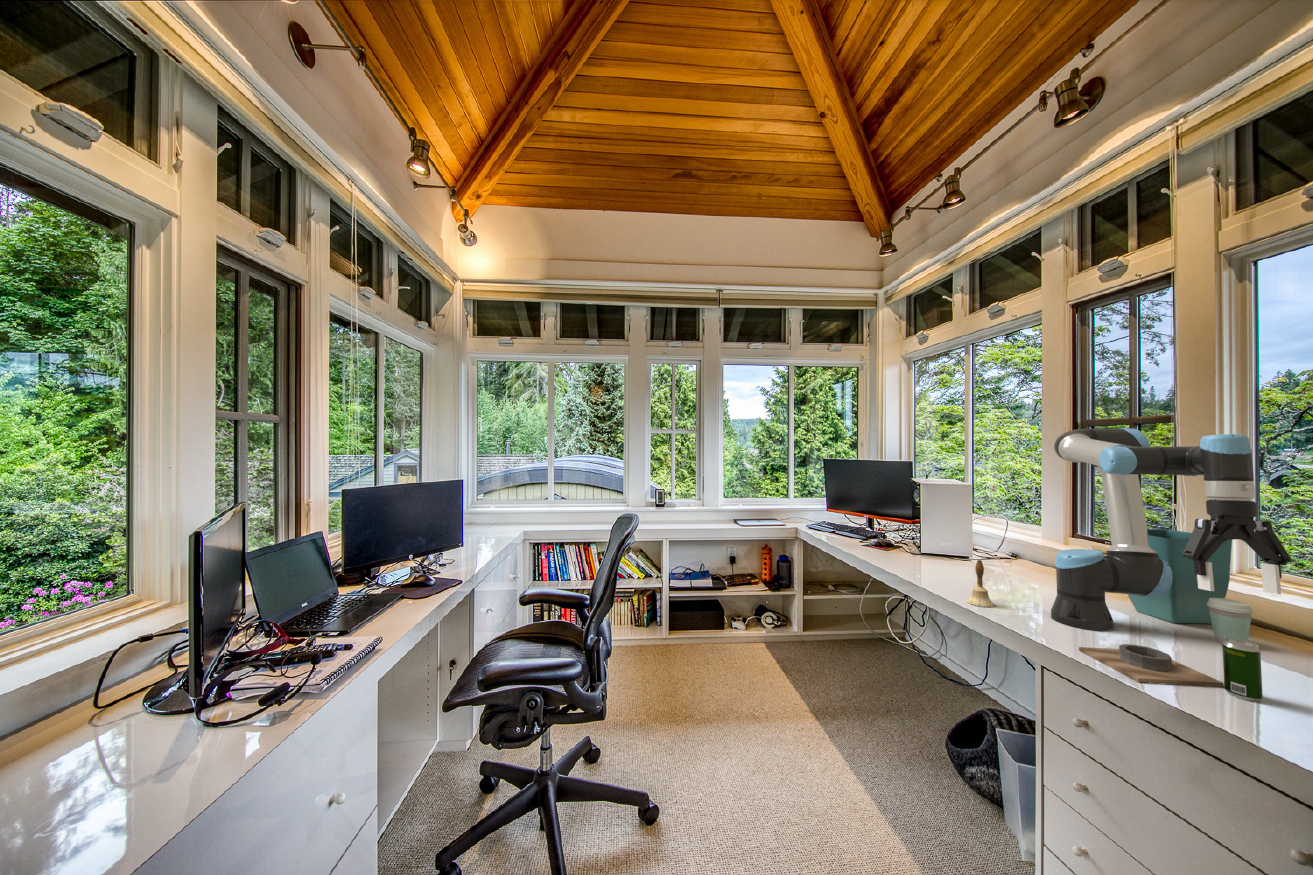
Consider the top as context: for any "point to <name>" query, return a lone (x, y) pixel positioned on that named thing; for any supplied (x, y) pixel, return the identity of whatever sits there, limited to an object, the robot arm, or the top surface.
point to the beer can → (1242, 669)
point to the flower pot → (1184, 580)
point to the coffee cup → (1229, 618)
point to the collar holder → (1149, 665)
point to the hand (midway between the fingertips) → (1239, 591)
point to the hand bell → (980, 589)
